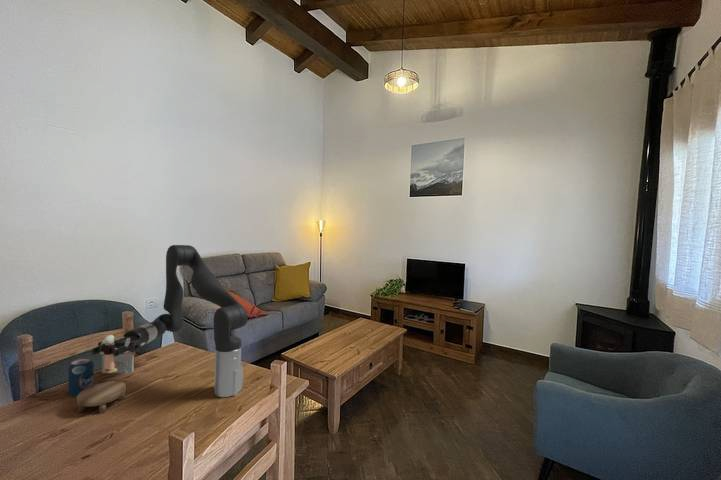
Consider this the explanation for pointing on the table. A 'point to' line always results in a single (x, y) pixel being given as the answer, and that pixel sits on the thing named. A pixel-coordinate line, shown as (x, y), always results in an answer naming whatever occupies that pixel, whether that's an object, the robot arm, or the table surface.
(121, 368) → the cassette
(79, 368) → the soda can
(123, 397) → the beige footstool
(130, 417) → the table surface
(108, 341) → the grandmother figurine
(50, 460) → the table surface
